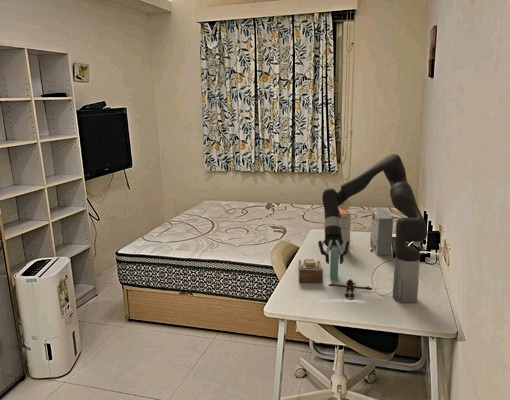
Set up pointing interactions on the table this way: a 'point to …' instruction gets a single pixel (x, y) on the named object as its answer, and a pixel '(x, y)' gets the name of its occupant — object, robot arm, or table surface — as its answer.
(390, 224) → the hard drive box
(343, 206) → the flower in vase
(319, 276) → the walnut rack
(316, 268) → the oak offcut large
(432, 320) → the table surface
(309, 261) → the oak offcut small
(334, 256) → the teal board
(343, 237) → the cracker box
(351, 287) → the long-limbed plush toy
